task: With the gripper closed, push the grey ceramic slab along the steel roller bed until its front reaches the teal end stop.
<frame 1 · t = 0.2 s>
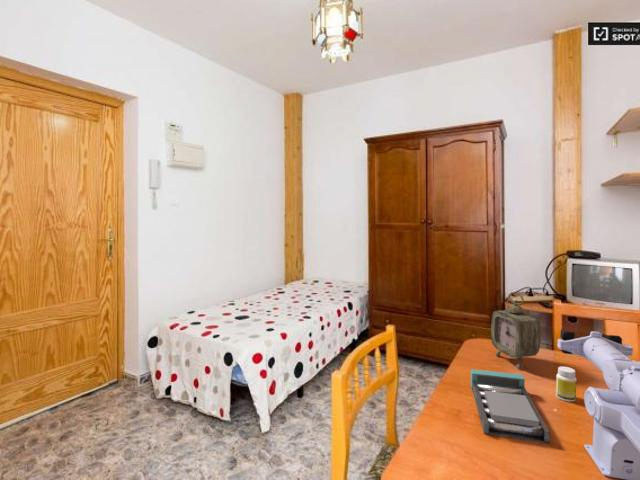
hand: (579, 334, 92), 21 cm above the table, tool horizontal, fingers open, 7 cm apart
tabletop clock: (514, 362, 125), on the table
roller bed: (505, 412, 93), on the table
slab: (509, 407, 89), point 4 cm above the table, slide at 0.0 cm
supplement bottle: (565, 398, 101), on the table
end stop: (496, 390, 105), on the table
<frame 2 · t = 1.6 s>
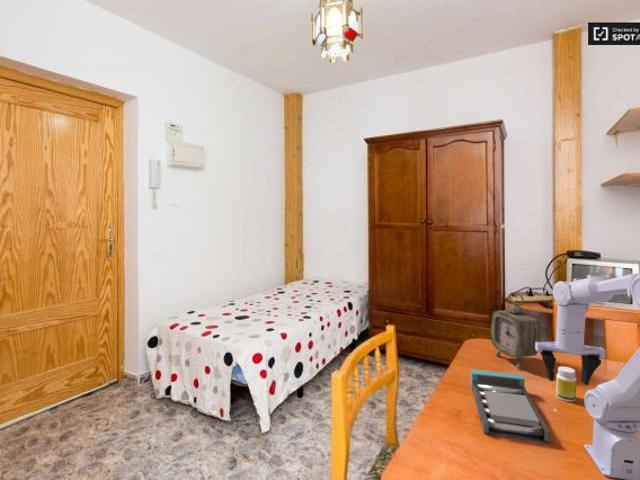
hand: (567, 381, 89), 10 cm above the table, tool pointing down, fingers open, 7 cm apart
nothing on the table moved.
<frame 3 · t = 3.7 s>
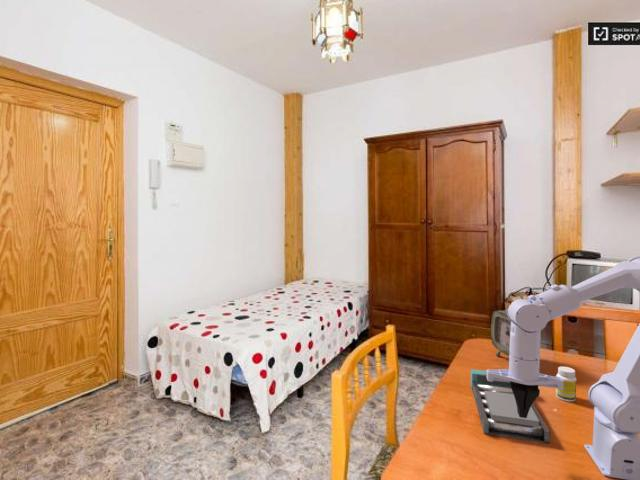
hand: (522, 415, 77), 9 cm above the table, tool pointing down, fingers closed
nothing on the table moved.
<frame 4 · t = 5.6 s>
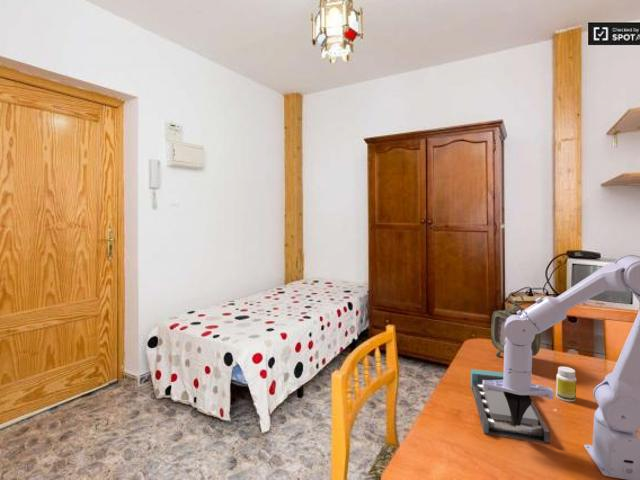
hand: (515, 422, 83), 4 cm above the table, tool pointing down, fingers closed, pressing on slab
slab: (508, 405, 90), point 4 cm above the table, slide at 0.7 cm, touching gripper
everything else where it was.
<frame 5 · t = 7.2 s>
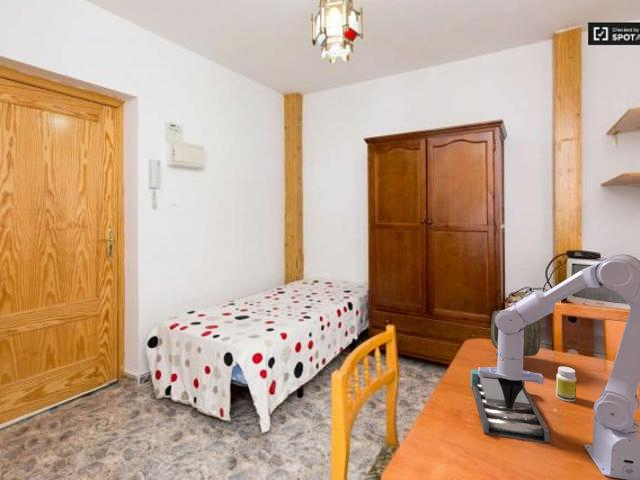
hand: (508, 406, 90), 4 cm above the table, tool pointing down, fingers closed, pressing on slab
slab: (502, 391, 97), point 4 cm above the table, slide at 8.0 cm, touching gripper
everything else where it was.
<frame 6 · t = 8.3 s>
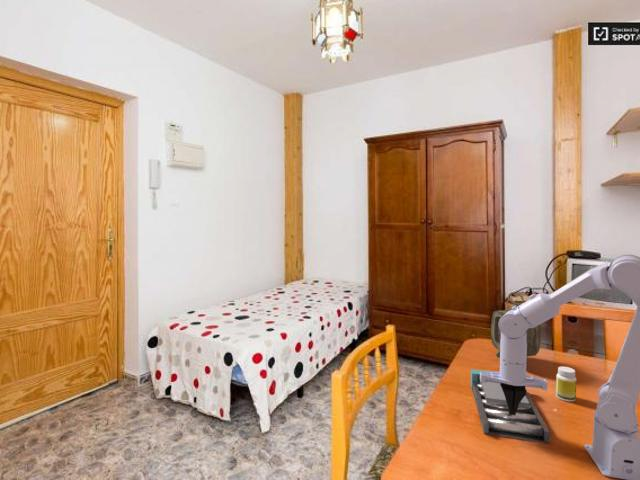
hand: (511, 412, 87), 4 cm above the table, tool pointing down, fingers closed
slab: (502, 391, 97), point 4 cm above the table, slide at 8.0 cm
everything else where it was.
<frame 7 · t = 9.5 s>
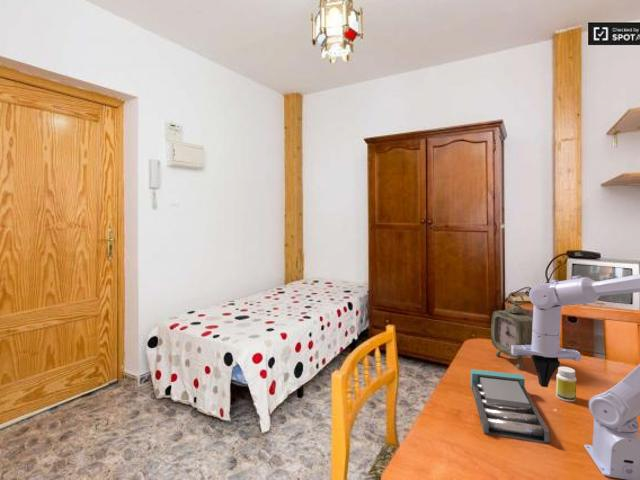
hand: (543, 385, 87), 10 cm above the table, tool pointing down, fingers closed
nothing on the table moved.
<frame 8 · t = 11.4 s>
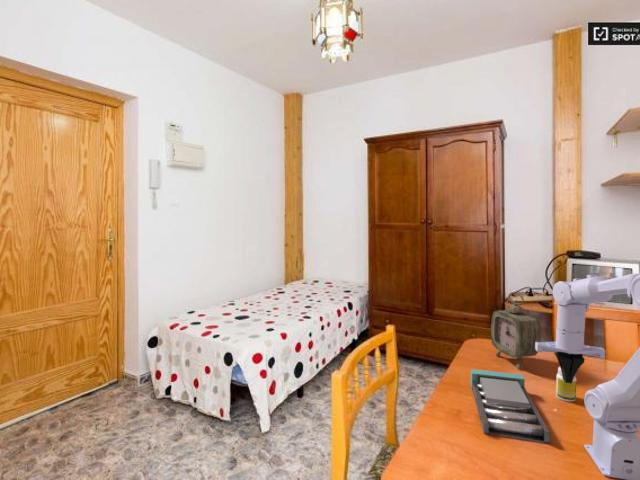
hand: (567, 381, 89), 10 cm above the table, tool pointing down, fingers closed
nothing on the table moved.
at the end: slab slide at 8.0 cm; slab moved 8.0 cm from its start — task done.
